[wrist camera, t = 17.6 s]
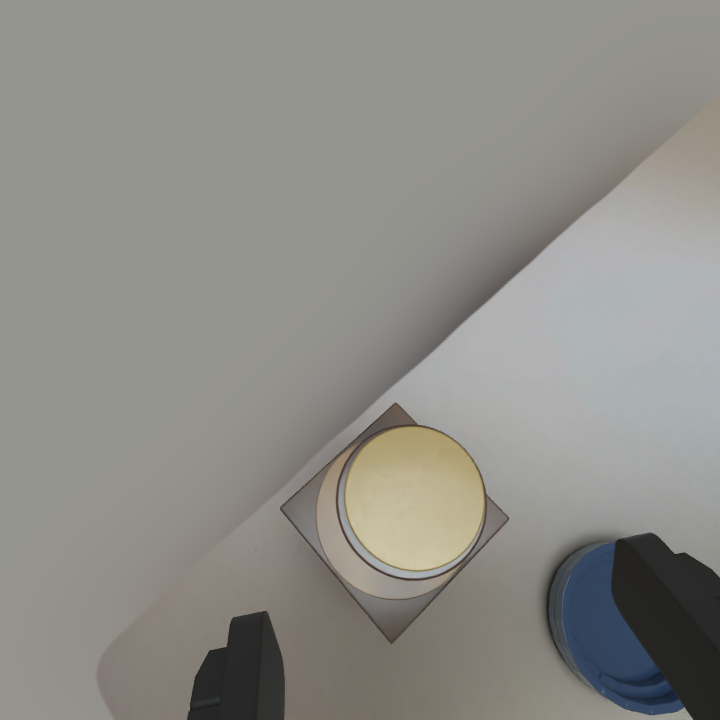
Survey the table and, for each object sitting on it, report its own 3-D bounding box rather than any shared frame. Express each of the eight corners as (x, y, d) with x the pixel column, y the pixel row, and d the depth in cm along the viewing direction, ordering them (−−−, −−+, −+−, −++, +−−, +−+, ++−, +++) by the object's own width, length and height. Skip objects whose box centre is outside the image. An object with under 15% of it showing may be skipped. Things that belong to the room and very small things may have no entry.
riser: (380, 598, 40) (391, 644, 22) (316, 522, 42) (278, 508, 24) (449, 528, 42) (510, 518, 24) (384, 458, 44) (396, 401, 26)
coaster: (355, 629, 22) (354, 631, 22) (293, 474, 25) (291, 472, 24) (501, 554, 23) (503, 554, 23) (427, 412, 26) (428, 410, 25)
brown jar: (371, 583, 22) (375, 615, 13) (332, 489, 24) (308, 455, 14) (460, 539, 23) (527, 537, 13) (416, 450, 24) (447, 391, 15)
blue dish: (597, 727, 37) (619, 746, 33) (519, 578, 40) (532, 581, 37) (718, 656, 38) (752, 667, 35) (633, 519, 42) (656, 517, 38)
